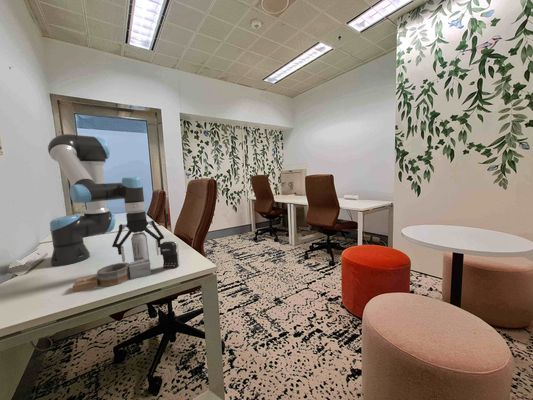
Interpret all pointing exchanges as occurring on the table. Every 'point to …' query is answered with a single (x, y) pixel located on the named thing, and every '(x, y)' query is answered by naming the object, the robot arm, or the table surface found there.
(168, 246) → the battery
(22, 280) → the table surface
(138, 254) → the energy drink can
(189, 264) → the table surface
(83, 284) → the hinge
